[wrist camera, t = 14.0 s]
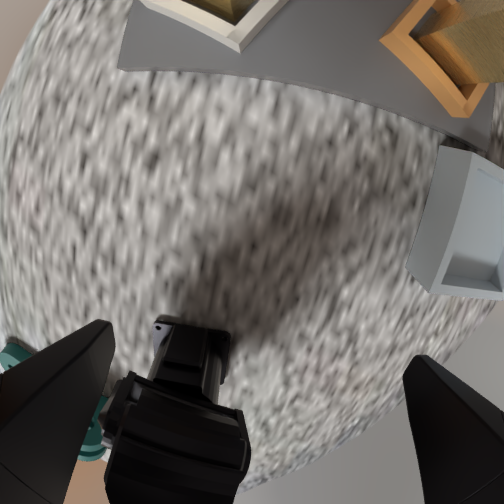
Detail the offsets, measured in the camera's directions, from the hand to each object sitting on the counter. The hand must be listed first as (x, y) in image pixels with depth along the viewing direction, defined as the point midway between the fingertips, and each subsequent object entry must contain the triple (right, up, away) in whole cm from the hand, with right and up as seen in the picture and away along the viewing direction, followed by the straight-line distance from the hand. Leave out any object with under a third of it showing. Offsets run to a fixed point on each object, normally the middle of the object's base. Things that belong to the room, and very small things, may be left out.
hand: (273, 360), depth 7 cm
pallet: (+6, +18, +6) cm, 20 cm away
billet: (+12, +17, +5) cm, 21 cm away
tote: (+17, +5, +12) cm, 22 cm away
